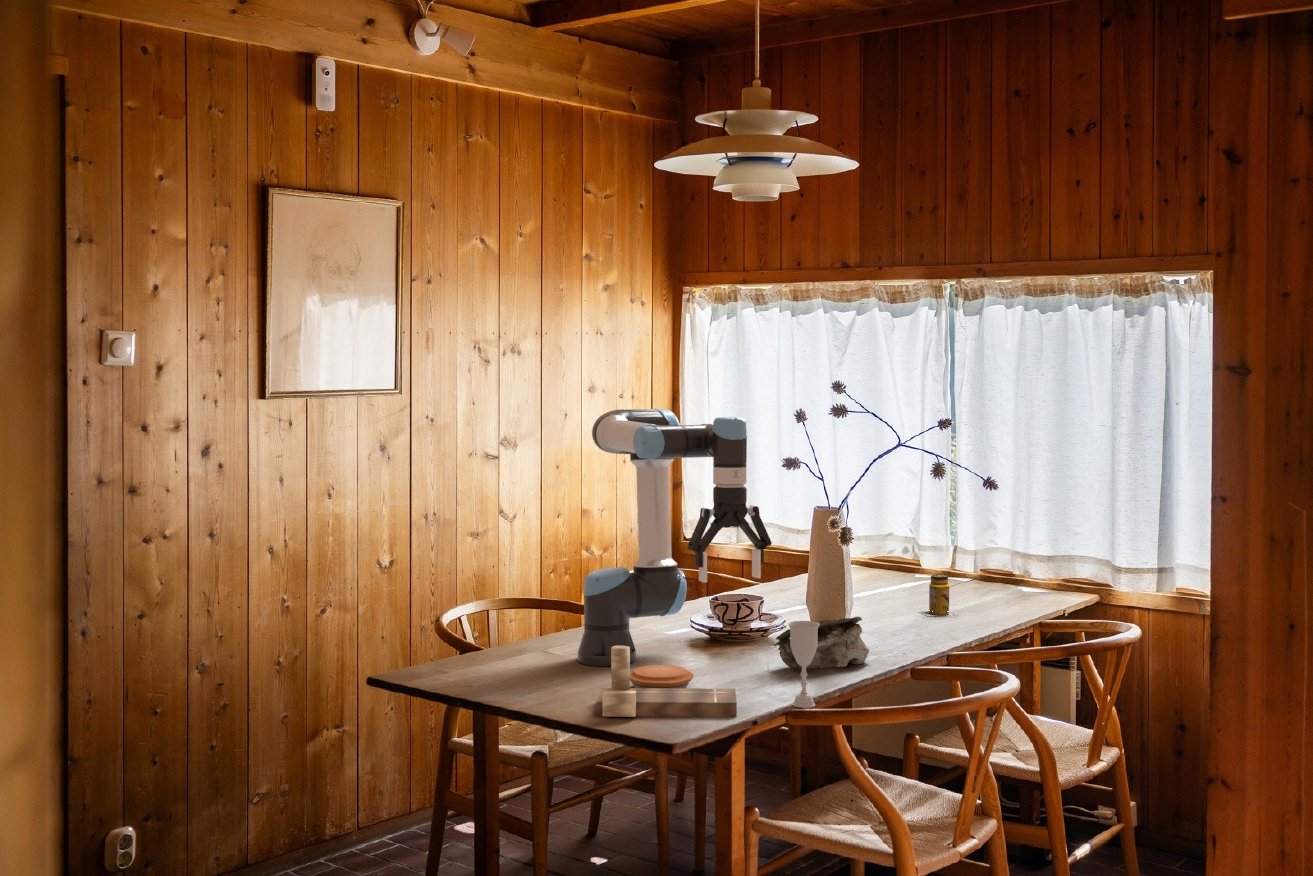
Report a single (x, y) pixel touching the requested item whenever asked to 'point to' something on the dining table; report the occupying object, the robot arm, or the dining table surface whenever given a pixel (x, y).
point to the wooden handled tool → (619, 686)
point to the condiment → (938, 596)
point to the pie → (660, 677)
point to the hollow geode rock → (829, 645)
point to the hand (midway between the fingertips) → (729, 579)
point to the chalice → (803, 654)
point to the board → (680, 702)
